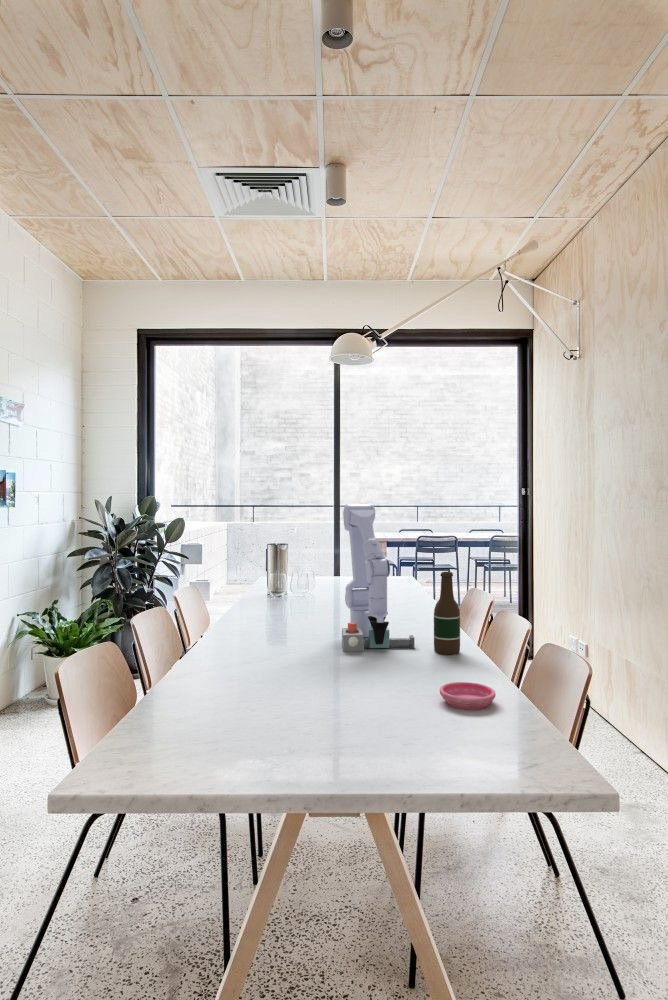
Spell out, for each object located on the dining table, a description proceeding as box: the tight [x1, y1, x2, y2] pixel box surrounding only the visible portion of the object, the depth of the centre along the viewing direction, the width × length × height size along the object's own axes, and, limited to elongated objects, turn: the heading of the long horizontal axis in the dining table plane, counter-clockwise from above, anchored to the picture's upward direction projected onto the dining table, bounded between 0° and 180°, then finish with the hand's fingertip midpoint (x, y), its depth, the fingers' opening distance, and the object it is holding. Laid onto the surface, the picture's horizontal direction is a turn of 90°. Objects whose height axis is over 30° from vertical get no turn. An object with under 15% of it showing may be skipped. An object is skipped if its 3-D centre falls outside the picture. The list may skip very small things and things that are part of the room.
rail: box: [364, 634, 415, 649], centre depth 198 cm, size 4×15×3 cm, turn 92°
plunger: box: [347, 622, 357, 633], centre depth 197 cm, size 3×3×4 cm
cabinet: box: [341, 627, 364, 653], centre depth 197 cm, size 10×6×5 cm, turn 2°
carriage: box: [368, 626, 390, 649], centre depth 198 cm, size 4×6×5 cm
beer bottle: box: [433, 571, 461, 656], centre depth 191 cm, size 8×8×24 cm
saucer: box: [439, 681, 496, 710], centre depth 145 cm, size 12×12×3 cm
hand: (378, 641), depth 198 cm, fingers open, 6 cm apart
